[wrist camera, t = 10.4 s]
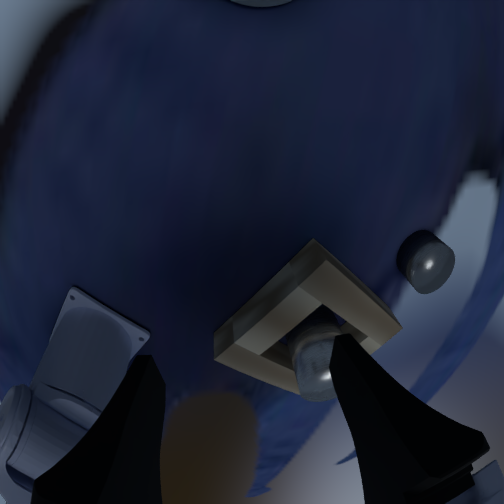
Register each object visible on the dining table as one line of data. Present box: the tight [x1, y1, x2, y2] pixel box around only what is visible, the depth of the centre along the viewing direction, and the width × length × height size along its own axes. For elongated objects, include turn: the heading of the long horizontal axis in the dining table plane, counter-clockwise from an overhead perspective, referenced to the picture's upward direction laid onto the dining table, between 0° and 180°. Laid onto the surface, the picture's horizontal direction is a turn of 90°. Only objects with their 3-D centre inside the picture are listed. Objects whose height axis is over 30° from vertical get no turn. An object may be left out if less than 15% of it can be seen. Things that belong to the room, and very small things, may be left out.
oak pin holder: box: [214, 238, 402, 395], centre depth 23 cm, size 12×12×3 cm
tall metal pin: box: [285, 304, 343, 402], centre depth 21 cm, size 4×4×7 cm
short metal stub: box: [396, 230, 455, 294], centre depth 21 cm, size 4×4×3 cm
